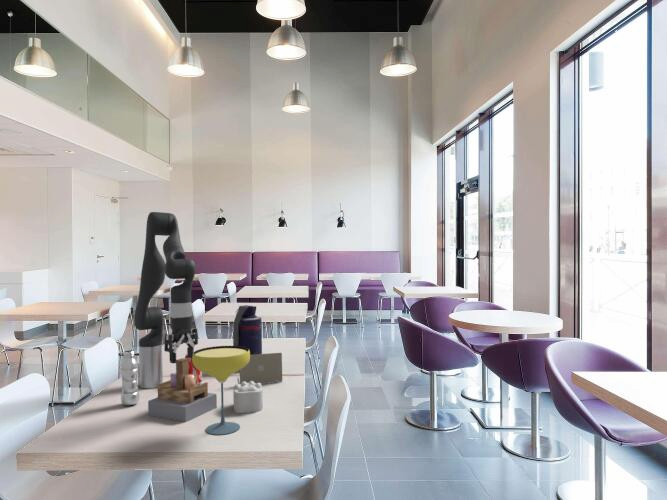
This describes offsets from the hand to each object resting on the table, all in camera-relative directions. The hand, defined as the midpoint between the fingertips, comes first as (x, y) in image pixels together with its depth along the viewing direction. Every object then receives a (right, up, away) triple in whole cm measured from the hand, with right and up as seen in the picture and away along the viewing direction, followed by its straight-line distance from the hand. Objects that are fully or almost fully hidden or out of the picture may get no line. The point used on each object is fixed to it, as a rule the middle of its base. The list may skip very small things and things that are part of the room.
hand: (181, 360), depth 179 cm
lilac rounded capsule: (-3, -10, +2) cm, 10 cm away
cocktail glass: (+18, -18, -17) cm, 31 cm away
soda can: (-6, -18, +36) cm, 40 cm away
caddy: (0, -13, 0) cm, 13 cm away
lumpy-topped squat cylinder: (+23, -18, +4) cm, 30 cm away
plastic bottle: (-22, -19, +9) cm, 30 cm away
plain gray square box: (0, -18, 0) cm, 18 cm away
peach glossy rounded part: (+3, -10, -1) cm, 10 cm away
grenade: (+13, -18, +61) cm, 65 cm away
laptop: (+22, -18, +40) cm, 49 cm away
